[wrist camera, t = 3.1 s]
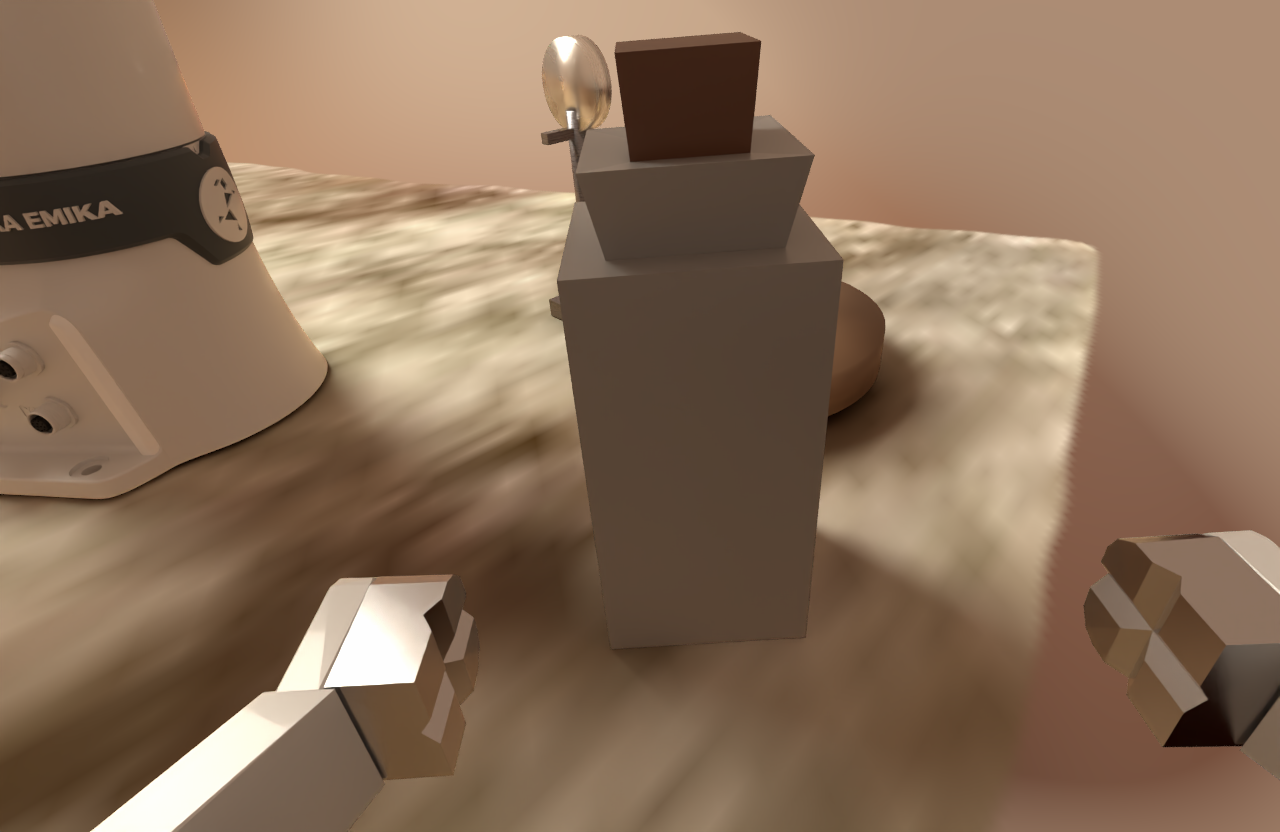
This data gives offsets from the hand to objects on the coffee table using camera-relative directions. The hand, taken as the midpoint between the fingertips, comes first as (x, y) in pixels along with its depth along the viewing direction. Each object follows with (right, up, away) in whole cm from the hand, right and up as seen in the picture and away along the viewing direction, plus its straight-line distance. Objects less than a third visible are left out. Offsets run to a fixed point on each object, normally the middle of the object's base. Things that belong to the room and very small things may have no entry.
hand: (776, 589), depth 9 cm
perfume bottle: (0, -4, +17) cm, 18 cm away
